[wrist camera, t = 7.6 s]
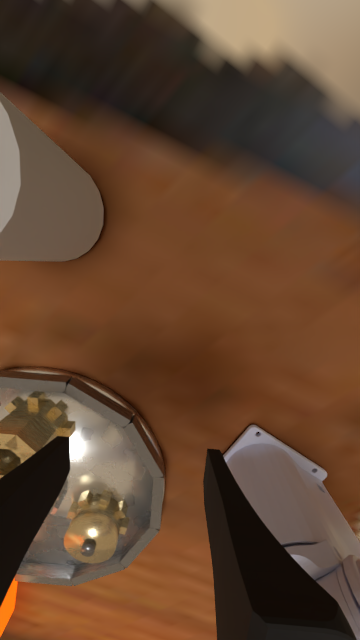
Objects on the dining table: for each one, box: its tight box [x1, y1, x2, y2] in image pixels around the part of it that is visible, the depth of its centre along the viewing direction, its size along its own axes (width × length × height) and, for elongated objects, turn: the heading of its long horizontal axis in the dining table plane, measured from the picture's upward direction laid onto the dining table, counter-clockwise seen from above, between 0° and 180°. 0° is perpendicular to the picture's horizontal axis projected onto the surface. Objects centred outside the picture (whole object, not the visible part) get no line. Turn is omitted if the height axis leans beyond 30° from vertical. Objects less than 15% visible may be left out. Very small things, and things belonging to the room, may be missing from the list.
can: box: [0, 93, 104, 262], centre depth 13 cm, size 8×8×12 cm
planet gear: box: [0, 391, 75, 478], centre depth 20 cm, size 6×6×5 cm
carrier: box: [0, 367, 165, 586], centre depth 23 cm, size 24×24×4 cm
